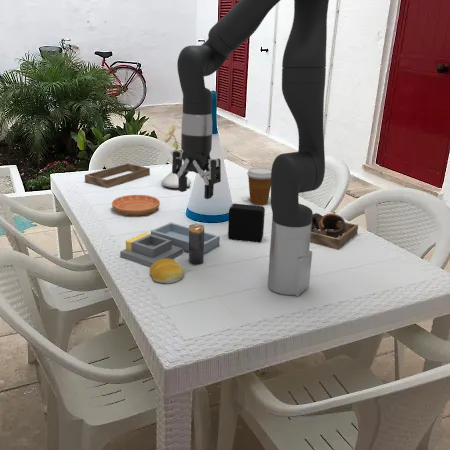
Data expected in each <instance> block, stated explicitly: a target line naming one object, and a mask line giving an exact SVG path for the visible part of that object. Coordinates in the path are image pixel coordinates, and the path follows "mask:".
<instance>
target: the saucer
mask: <svg viewBox="0 0 450 450" xmlns="http://www.w3.org/2000/svg"><path fill="white" fill-rule="evenodd" d="M160 204H161V202H160V199H158V198H157V197H156V196H151V195H147V194H146V195H145V194H129V195H123V196H120V197H117V198H115V199H113V201H112V202H111V207H112V208H113V209H114V210H115V211H116V212H117V213H118V214H121V215H124V216H131V217H140V216H147V215H150V214H152V213H154V212H155V211H156V210H158V208H159V206H161V205H160Z"/></svg>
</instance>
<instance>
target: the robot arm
mask: <svg viewBox="0 0 450 450" xmlns="http://www.w3.org/2000/svg"><path fill="white" fill-rule="evenodd" d="M293 1H294V2H293V5H294V6H293V9H294V10H293V12H294V13H293V19H292V25H291V28H290V32H289V35H288V38H287V41H286V45H285V47H284V51H283V56H282V62H281V64H282V65H281V67H282V69H281V92H282V96H283V98H284V101H285V103H286V105H287V107H288V109H289V111H290V113H291V115H292V117H293V120H294V122H295V125H296V127H297V133H298V150H297V151H294V152H292V151H291V152H284V153H281V154H278V155H277V156H276V157H275V158H274V160H273V162H272V165H271V169H272V170H271V188H270V208H271V212H272V216H271V217H272V218H271V232H270V233H271V234H270V247H269V261H268V276H267V287H268V288H269V289H270V290H271V291H272V292H274V293H276V294H279V295H280V294H281V295H286V296H296V297H299V296H300V295H301V294H302V293H304V292H305V291H306V290H307V289H308V288H309V286H310V281H311V280H310V278H311V268H312V258H313V251H311V250H310V247H311V242H310V237H311V232H312V231H311V228H312V218H313V214H314V213H313V210H312V208H311V207H309V206H307V205H304V204H301V203H299V200H300V199H299V195H300V194H301V193H307V192H312V191H315V190H317V189H319V188H320V187H321V186H322V184H323V181H324V178H325V175H326V173H325V172H326V157H325V139H324V138H325V137H324V135H325V133H324V110H325V109H324V107H325V104H324V103H325V87H326V72H327V70H326V69H327V35H328V11H329V4H330V3H329V2H330V0H293ZM279 2H281V0H239V1H238V2H237V3H236V4H235V5H233V7H232V8H231V9H229V10H228V12H227V13H225V14H224V15H223V17H221V18H220V19H219V20H218V21H217V22H216V23H215V24H214V25H213V26H212V27H211V28H210V30H209V31H208V36H207V39H206V41H205V42H203V44H201V45H187V46H184V47H183V48H182V49H181V51H180V53H179V54H178V57H177V65H176V66H177V67H176V68H177V74H178V80H179V84H180V88H181V92H182V117H181V127H180V128H181V130H180V131H181V133H180V134H181V137H180V139H181V140H180V149H177V150H178V151H174V152H173V157H172V160H171V161H172V164H171V167H172V168H171V172H172V173H173V174H176V175H177V176H178V187H179V188H178V191H179V192H180V193H184V192H187V190H188V186H187V177H188V176H187V175H188V173H190V172H192V173H195V174H198V175H199V176H200V178H202V179H203V182H204V194H203V195H204V197H203V198H204V199H206V200H209V199H211V198H212V197H214V188H215V187H214V185H215V184H218V183H220V182H221V181H222V179H221V178H222V177H221V175H222V173H221V171H222V170H221V166H222V165H221V163H222V162H221V161H222V160H221V159H220V158H211V154H210V153H211V151H212V147H213V146H212V143H213V142H212V141H213V117H212V115H213V114H212V113H213V112H212V110H213V109H212V108H213V106H212V105H213V94H212V92H211V89H209V88H207V87H206V84H205V77H209V76H211V75H213V74H214V73H215V72H217V71H218V70H219V69H220V68H221V67H222V66H223V64H225V62H226V61H227V60H228V58H229V56H230V55H231V53H234V52H235V50H237V49H238V48H239V47H240V46H242V45H243V44H244V43H245V42H246V41H247V40H249V38H250V37H252V35H253V34H254V33H255V32H256V31H257V29H258V28H260V25H261V24H262V23H263V21H264V19H265V18H266V16H267V15H268V14H269V13H270V11H271V10H272V9H273V8H274V7H275V6H276V5H277V4H278V3H279ZM186 176H187V177H186Z"/></svg>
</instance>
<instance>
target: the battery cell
mask: <svg viewBox="0 0 450 450" xmlns="http://www.w3.org/2000/svg"><path fill="white" fill-rule="evenodd" d="M188 227H189V252H188V264H191V265H192V266H193V265H195V266H199V265H202V264H204V262H205V254H204V232H205V225H204V224H201V223H192V224H190V225H188Z"/></svg>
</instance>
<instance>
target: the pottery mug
mask: <svg viewBox="0 0 450 450" xmlns="http://www.w3.org/2000/svg"><path fill="white" fill-rule="evenodd" d="M338 221H341V222H342V227H341V228H340V227H339V226H338V225H337V222H338ZM312 222H313V224H314V225H315V226H316V228H315V230H316V231H320V234H322V235H326V236H330V237H334V238H339V237H341V236H342V235H343V234H344V233H346V229H345V226H346V224H345V222H346V221H345V220H344V218H343V217H342V216H340V215H339V214H337V213H336V214H335V213H326V214H324V215H322V214H320V213H317V212H315V213H313V218H312Z"/></svg>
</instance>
